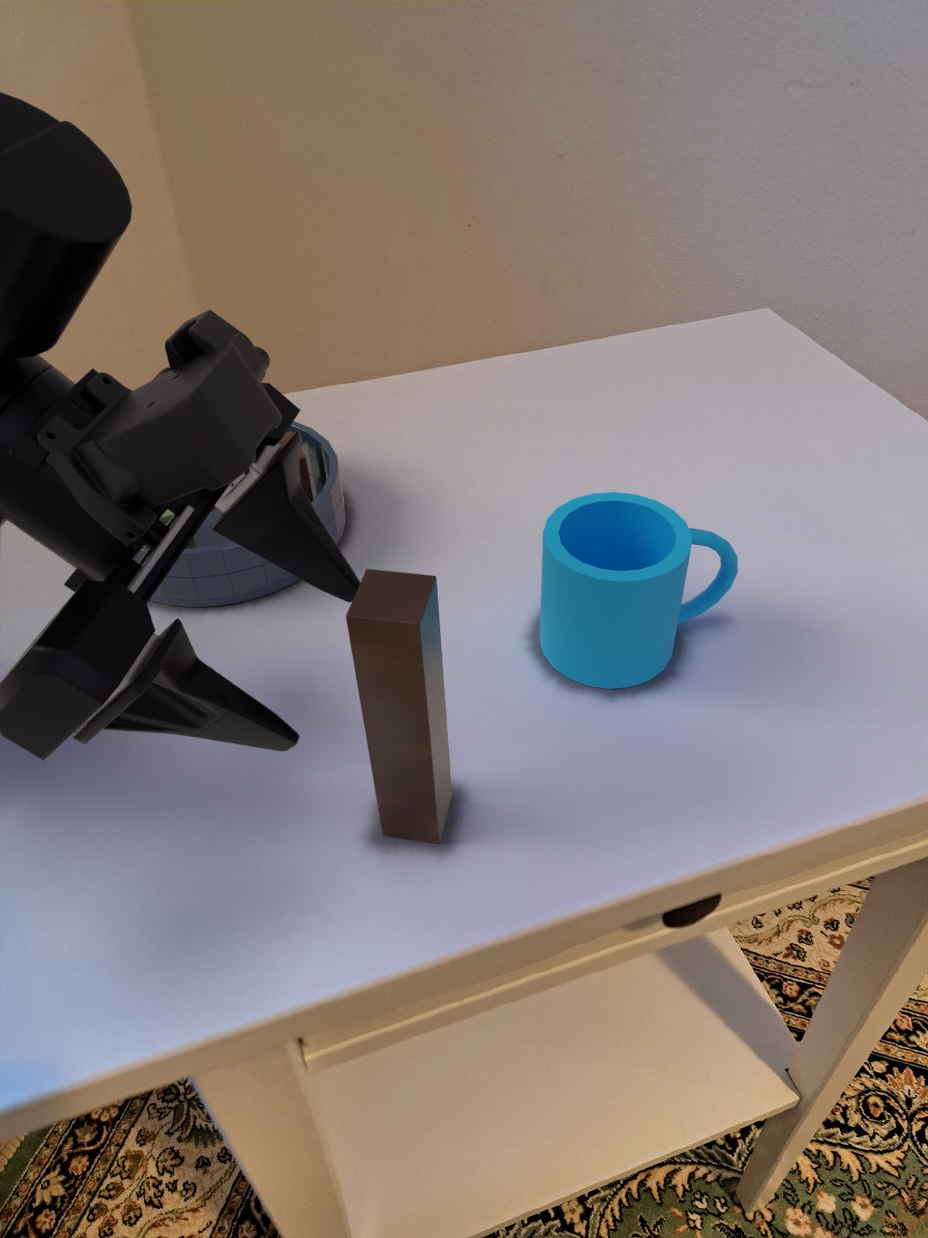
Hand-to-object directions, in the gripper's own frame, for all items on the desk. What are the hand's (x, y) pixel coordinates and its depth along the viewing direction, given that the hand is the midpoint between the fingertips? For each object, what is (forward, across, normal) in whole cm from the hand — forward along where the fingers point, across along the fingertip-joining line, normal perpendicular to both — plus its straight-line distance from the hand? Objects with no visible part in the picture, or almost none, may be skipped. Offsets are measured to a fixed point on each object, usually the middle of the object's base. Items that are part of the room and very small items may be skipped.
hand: (328, 664), depth 39 cm
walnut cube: (-2, +26, +16) cm, 31 cm away
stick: (+10, 0, +5) cm, 11 cm away
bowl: (-4, +22, +19) cm, 29 cm away
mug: (+17, +15, -2) cm, 23 cm away
